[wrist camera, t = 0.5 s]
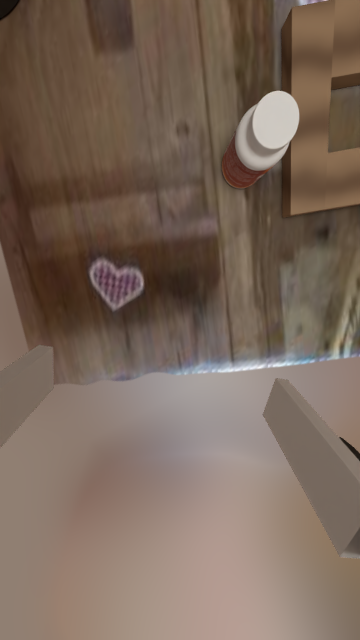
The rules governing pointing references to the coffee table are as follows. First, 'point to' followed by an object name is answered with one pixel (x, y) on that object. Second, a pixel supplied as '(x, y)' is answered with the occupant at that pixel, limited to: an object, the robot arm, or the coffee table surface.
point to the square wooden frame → (319, 105)
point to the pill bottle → (260, 139)
